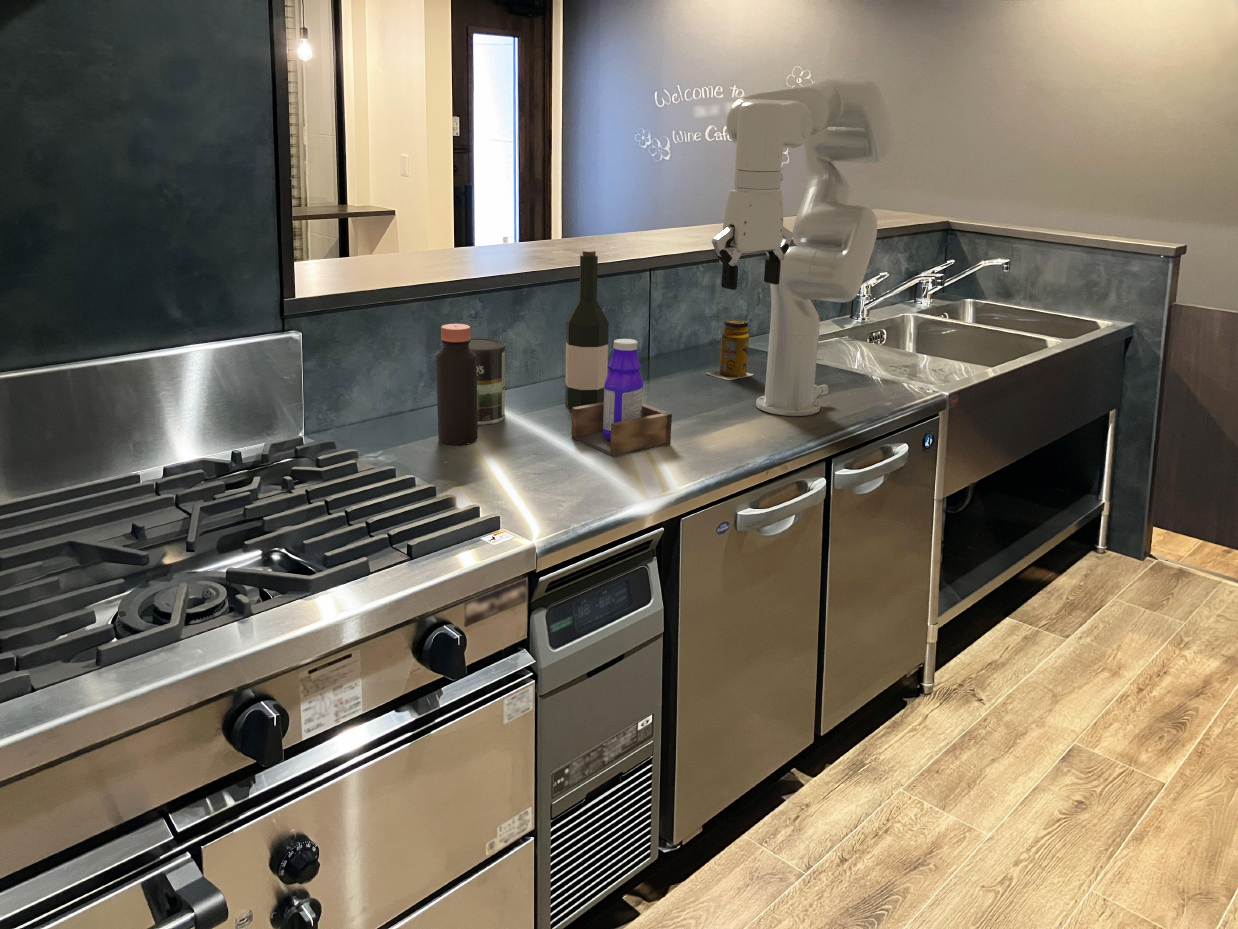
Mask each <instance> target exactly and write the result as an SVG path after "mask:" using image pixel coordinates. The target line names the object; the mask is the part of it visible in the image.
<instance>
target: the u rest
mask: <svg viewBox="0 0 1238 929" xmlns="http://www.w3.org/2000/svg"><path fill="white" fill-rule="evenodd" d="M603 413H604V402H601V403H595V404H590V405H584V406H579V407H573V408H572V409H571V439H573V440H575V441H577V442H580V443H581V444H584V445H587V446H589V447H590V448H594V449H595V450H598V451H600V452H603V453H605V454H606V455H608V456H611V457H613V458H617V457H622V456H624V455H630V454H635V453H639V452H643V451H648V450H652V449H656V448H661V447H666V446H670V445H671V444H672V442H671V439H672V438H671V437H672V422H673V421H672V420H673V419H672V418H673V413H671V412H668V411H665V410H662V409H659V408H657V407H654V406H651V405H648V404H645V403H644V402H642V413H641V418H636V419H631V420H626V421H621V422H616V423H611V440H608V439H606V438H605V437H604V435H603Z"/></svg>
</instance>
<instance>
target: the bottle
mask: <svg viewBox="0 0 1238 929" xmlns="http://www.w3.org/2000/svg"><path fill="white" fill-rule="evenodd" d="M612 346H613V347H612V348H613V352H612V356H611V359H610V361H609V362H608V368H607V369H609V370H608V372H607V378H606V381H605V385H604V413H603V435H604V437H605V438H606V439H608V440H611V423H616V422H621V421H626V420H631V419H636V418H641V413H642V403H643V390H644V380H643V377H642V375H641V373H640V370H641V368H642V364H641V363H640V360H639V356H638V341H637V340H636V339H631V338H619V339H615V340H614V341H613V345H612Z"/></svg>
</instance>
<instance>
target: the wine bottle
mask: <svg viewBox="0 0 1238 929" xmlns="http://www.w3.org/2000/svg"><path fill="white" fill-rule="evenodd" d="M598 258H599V256H598V254H596V250H595V249H594V250H593V249H585V250H582V254H580V255H579V292H578V294H579V295H578V301H577V303H576V304H575V306H574V307H573V309H572V310H571V312H570V313H569V315H568V316H567V318H566V326H565V329H566V330H565V334H566V335H565V383H564V384H565V388H564V389H565V390H564V391H565V393H564V401H565V402H564V404H565V406H566V407H567V409H571V410H572V408H573V407H579V406H584V405H590V404H595V403H601V402H604V385H605V381H606V378H607V375H608V369H609V368H608V364H609V361H608V359H609V356H608V355H609V333H610V332H609V330H610V328H609V327H610V326H609V325H610V324H609V323H610V322H609V320H608V319H607V317H606V314H605V313H604V311H603V310H602V308H601V305H600V304H599V301H598V299H597V298H598V269H599V268H598V264H599V262H598V260H599V259H598Z"/></svg>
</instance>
